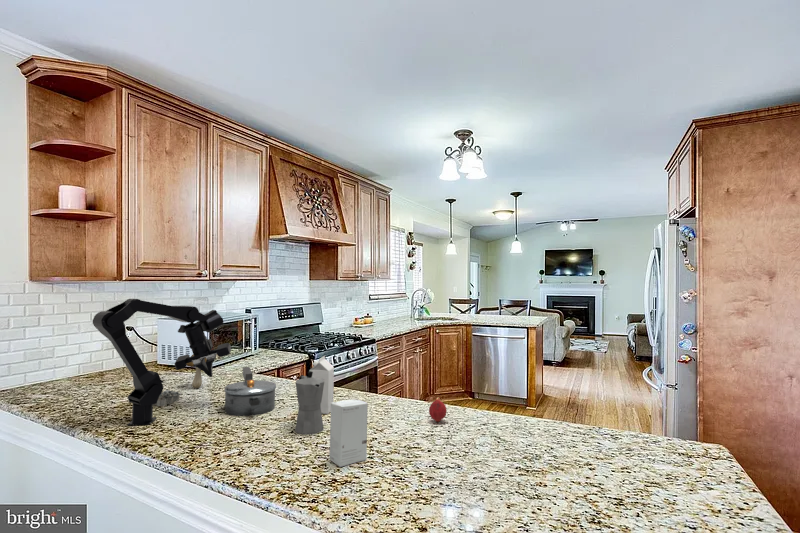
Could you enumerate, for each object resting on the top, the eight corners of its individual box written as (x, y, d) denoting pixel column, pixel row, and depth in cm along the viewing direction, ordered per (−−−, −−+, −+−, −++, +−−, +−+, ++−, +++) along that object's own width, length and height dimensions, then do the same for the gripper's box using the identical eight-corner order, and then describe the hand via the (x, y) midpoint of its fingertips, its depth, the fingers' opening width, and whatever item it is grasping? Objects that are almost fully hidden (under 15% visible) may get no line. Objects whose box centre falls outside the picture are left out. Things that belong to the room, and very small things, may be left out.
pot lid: (279, 392, 153) (279, 380, 153) (225, 397, 146) (225, 385, 146) (268, 375, 180) (268, 365, 180) (222, 378, 173) (222, 368, 173)
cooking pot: (280, 415, 149) (280, 395, 150) (227, 422, 142) (227, 400, 142) (269, 397, 172) (269, 379, 172) (222, 402, 165) (223, 383, 165)
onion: (445, 425, 140) (445, 400, 141) (427, 424, 142) (428, 399, 142) (447, 420, 146) (447, 395, 146) (430, 418, 147) (430, 394, 148)
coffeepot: (332, 433, 133) (332, 373, 133) (302, 439, 127) (303, 377, 128) (312, 419, 146) (313, 365, 146) (285, 424, 140) (286, 368, 141)
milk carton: (333, 408, 158) (334, 356, 159) (328, 414, 151) (329, 359, 152) (314, 407, 159) (315, 355, 159) (308, 413, 152) (309, 358, 152)
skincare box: (339, 468, 108) (340, 407, 108) (328, 459, 113) (329, 402, 113) (368, 459, 113) (368, 402, 114) (356, 452, 118) (356, 397, 118)
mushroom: (197, 392, 179) (198, 355, 180) (179, 388, 185) (180, 353, 185) (215, 387, 187) (216, 352, 188) (198, 384, 193) (198, 350, 193)
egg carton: (161, 407, 158) (161, 396, 159) (144, 405, 161) (145, 394, 161) (183, 399, 169) (183, 389, 169) (167, 398, 171) (167, 387, 171)
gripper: (226, 323, 166) (238, 359, 170) (175, 337, 162) (189, 374, 167) (222, 334, 155) (236, 372, 160) (167, 349, 152) (183, 388, 156)
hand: (211, 376), depth 161 cm, fingers closed
